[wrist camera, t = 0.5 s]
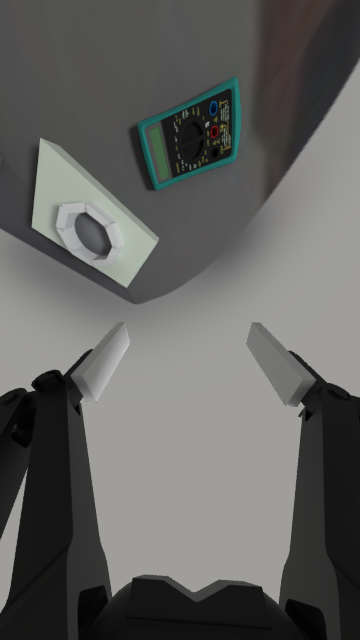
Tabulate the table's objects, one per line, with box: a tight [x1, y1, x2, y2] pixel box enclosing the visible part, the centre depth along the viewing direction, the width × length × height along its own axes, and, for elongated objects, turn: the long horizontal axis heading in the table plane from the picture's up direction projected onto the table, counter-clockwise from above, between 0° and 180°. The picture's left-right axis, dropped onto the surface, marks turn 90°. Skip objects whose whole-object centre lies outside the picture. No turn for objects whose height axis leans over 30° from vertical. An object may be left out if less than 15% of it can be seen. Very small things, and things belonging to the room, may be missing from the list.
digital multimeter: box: [138, 77, 241, 190], centre depth 21 cm, size 7×15×3 cm, turn 104°
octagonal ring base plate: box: [32, 138, 159, 288], centre depth 27 cm, size 14×20×7 cm
